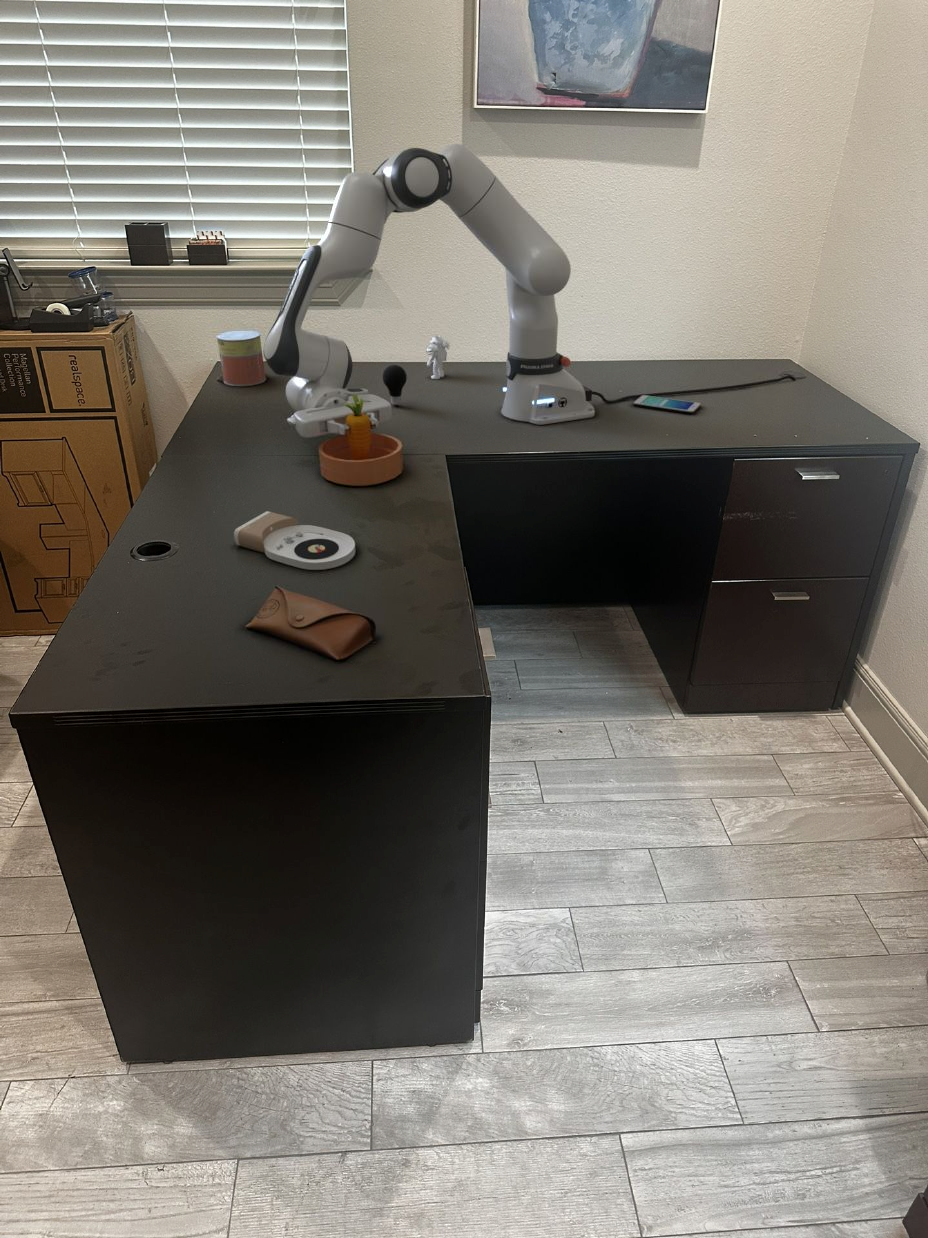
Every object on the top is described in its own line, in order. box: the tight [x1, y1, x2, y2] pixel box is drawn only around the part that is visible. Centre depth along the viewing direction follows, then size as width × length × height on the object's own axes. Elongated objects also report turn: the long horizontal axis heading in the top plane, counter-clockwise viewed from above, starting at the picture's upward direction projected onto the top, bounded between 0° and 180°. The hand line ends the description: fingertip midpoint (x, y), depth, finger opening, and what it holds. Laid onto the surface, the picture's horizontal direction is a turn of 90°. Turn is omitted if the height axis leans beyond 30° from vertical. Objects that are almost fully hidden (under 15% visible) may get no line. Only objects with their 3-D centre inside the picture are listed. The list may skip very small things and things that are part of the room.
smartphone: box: [633, 395, 702, 415], centre depth 205 cm, size 8×1×15 cm
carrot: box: [345, 395, 372, 460], centre depth 165 cm, size 5×5×15 cm
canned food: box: [216, 329, 267, 387], centre depth 224 cm, size 11×11×12 cm
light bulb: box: [382, 364, 408, 407], centre depth 204 cm, size 6×6×10 cm
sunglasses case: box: [244, 585, 377, 661], centre depth 118 cm, size 18×7×7 cm
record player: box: [233, 510, 356, 571], centre depth 140 cm, size 12×3×20 cm
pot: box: [318, 432, 404, 487], centre depth 168 cm, size 17×17×6 cm
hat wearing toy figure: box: [425, 334, 451, 380], centre depth 226 cm, size 9×4×12 cm, turn 148°
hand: (360, 427), depth 164 cm, fingers closed on carrot, 5 cm apart
